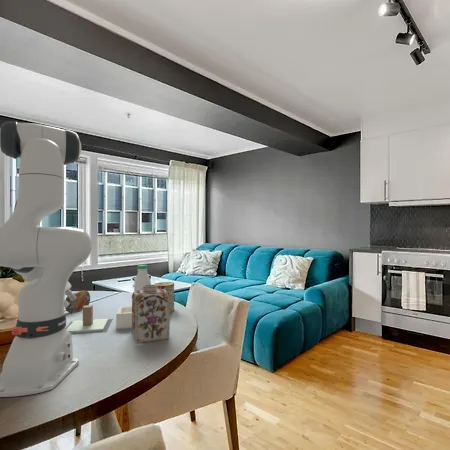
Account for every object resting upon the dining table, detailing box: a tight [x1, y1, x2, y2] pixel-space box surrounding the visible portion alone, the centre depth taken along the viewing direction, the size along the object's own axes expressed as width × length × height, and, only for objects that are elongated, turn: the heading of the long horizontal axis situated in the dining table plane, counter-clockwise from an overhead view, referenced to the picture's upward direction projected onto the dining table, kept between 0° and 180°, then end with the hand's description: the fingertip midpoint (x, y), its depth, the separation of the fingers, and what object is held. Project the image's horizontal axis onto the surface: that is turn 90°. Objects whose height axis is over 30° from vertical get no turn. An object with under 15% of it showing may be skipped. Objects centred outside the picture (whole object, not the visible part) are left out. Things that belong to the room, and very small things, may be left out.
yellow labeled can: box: [153, 281, 175, 313], centre depth 147 cm, size 9×9×12 cm
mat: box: [65, 318, 113, 336], centre depth 122 cm, size 16×16×1 cm
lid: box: [66, 304, 109, 333], centre depth 122 cm, size 13×13×8 cm
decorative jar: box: [131, 284, 171, 344], centre depth 113 cm, size 12×12×18 cm
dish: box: [115, 305, 132, 330], centre depth 125 cm, size 10×10×6 cm
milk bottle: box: [133, 264, 152, 292], centre depth 151 cm, size 8×8×20 cm
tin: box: [64, 290, 91, 314], centre depth 147 cm, size 15×3×8 cm, turn 168°
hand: (71, 302), depth 121 cm, fingers open, 8 cm apart
